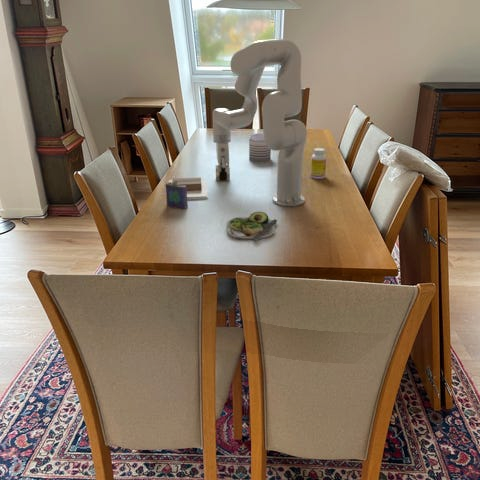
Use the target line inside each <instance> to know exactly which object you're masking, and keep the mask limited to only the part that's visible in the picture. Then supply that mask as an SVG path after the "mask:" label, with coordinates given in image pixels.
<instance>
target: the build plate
mask: <svg viewBox="0 0 480 480" xmlns="http://www.w3.org/2000/svg"><path fill="white" fill-rule="evenodd" d="M172 180H173V179H169V180H168V183H170V182H171V183H172ZM201 185H202V190H201V191H187V201H190V200H191V201H192V200H193V201H194V200H208V191H207V183H206V178H201Z"/></svg>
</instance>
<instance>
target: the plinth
mask: <svg viewBox="0 0 480 480" xmlns="http://www.w3.org/2000/svg"><path fill="white" fill-rule="evenodd" d="M201 179H202V177H201V176H199V177H184V178H183V177H179V178H175V177H174V178H172V179H171V180H172V183H174V182H173V181H174V180H175V181H176V180H177V181H178V182H177V184H178V185H185V186H186V187H187V191H201V190H202V185H201Z"/></svg>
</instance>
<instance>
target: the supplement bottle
mask: <svg viewBox="0 0 480 480" xmlns="http://www.w3.org/2000/svg"><path fill="white" fill-rule="evenodd" d="M325 152H326V149H325V148H322V147H316V148H314V149H313V154H312V155H311V160H310V175H309V176H310V178H312V179H314V180H321V179H324V178H325V177H326V166H327V156H326V155H325Z"/></svg>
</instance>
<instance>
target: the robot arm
mask: <svg viewBox="0 0 480 480" xmlns="http://www.w3.org/2000/svg"><path fill="white" fill-rule="evenodd" d="M274 65H275V66H276V65H279V66H280V67H279V69H278V71H277V72H278V73H277V77H276V83H277V85H276V86H277V87H276V89H277V90H276V91H272V92H270V93H268V94H266V96H265V97H264V98H263V100H262V104H261V117H262V118H261V119H262V134H264V140H265V143H266V145H267V147H268V148H269V149H271V151H275V152H276V151H278V155H277V176H276V180H277V181H276V194H275V195H273V197H272V202H273V203H274V204H276V205H278V206H283V207H297V206H301V205H303V204H304V203H305V201H306V200H305V197H304V196H303V195H302V182H303V163H304V152H305V151H304V150H305V147H306V143H307V142H306V141H307V139H308V138H307V137H308V130H307V127H306V125H305V123H303V122H302V121H301V120H298V119H289V120H285V119H287V118H291V117H294V116H297V115H299V113H301V111H302V106H303V98H302V97H303V96H302V94H303V93H302V79H301V77H302V54H301V51H300V47H298V45H297V44H296V43H295V42H293V41H292V40H288V39H285V38H276V39H260V40H257V41H256V40H255V41H254V42H252V43H250V44H248V45H247V46H245V47H243V48H241V49H239V50H237V51H236V52H235V53H234V54H233V55H232V57H231V59H230V66H229V67H230V71H231V73H232V74H234V75H236V76H237V78H236V81H235V83H234V90H235V92H237V93H238V94H239V95H241V96H243V97H244V102H243V103H242V104H243V105H242V106H241V108H240V109H234V110H230V109H228V108H225V107H218V108H215V109H213V111H212V137H213V140H212V141H213V143H215V147H216V159H217V165H220V172H219V175H220V181H219V182H223V181H222V180H227V171H226V165H229V166H230V147H229V145H230V144H229V143H230V142H232V141H231V138H232V137H231V135H232V134H231V131H232V130H238V129H241V128H246V127H248V126H250V125H251V123H253V120H254V118H255V116H256V113H257V111H258V98H257V95H256V91H257V88H258V86H259V83H260V81H261V78H262V75H263V73H264V72H265V71H264V70H265V67H269V66H274ZM221 166H222V167H221Z"/></svg>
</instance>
